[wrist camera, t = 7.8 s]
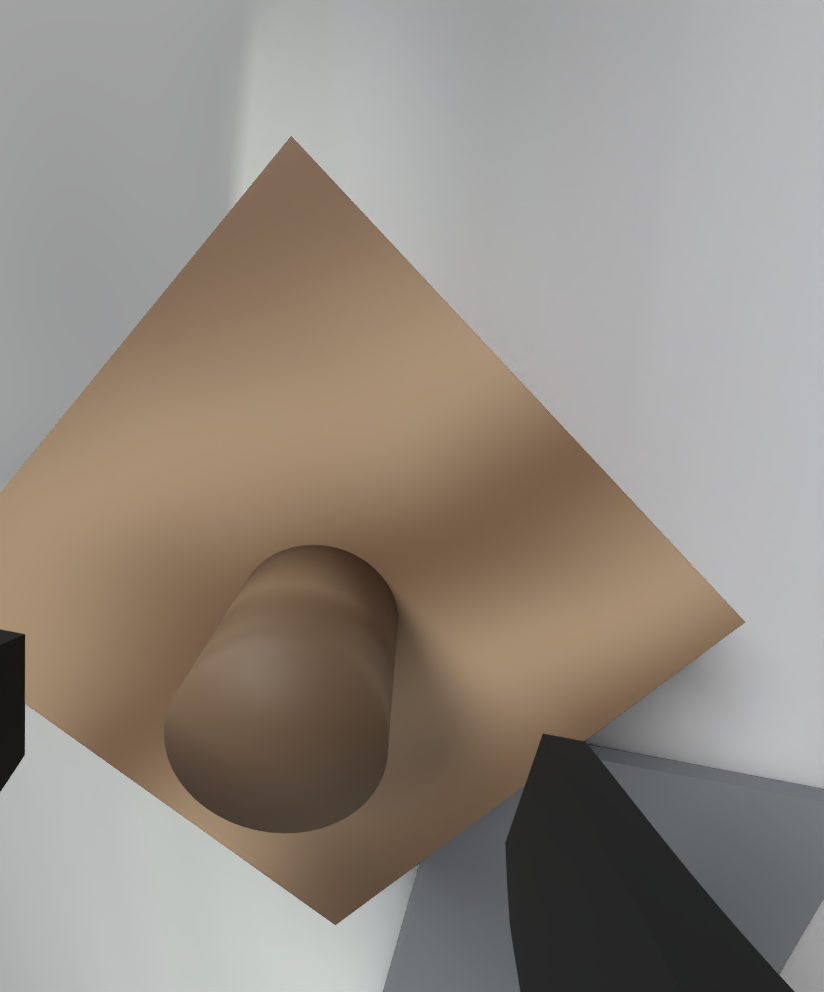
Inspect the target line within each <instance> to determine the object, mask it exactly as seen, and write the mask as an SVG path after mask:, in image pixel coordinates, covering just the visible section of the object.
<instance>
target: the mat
mask: <svg viewBox="0 0 824 992" xmlns="http://www.w3.org/2000/svg"><path fill="white" fill-rule="evenodd" d="M588 746H589V747H590V748H591V749H592V750H593V752H594V753H595V754H596V755H597V756H598V758H599V759H600V760H601V761H602V763H603V764H604V765H605V766H606V768H607V769H608V770H609V771H610V773H611V774H612V775H613V776H614V778H615V779H616V780H617V781H618V783H619V784H620V785H621V786H622V788H623V789H624V790H625V792H626V793H627V794H628V795H629V797H630V798H631V799H632V800H633V802H634V803H635V804H636V806H637V807H638V808H639V809H640V811H641V812H642V813H643V814H644V816H645V817H646V818H647V819H648V821H649V822H650V823H651V824H652V826H653V827H654V828H655V830H656V831H657V832H658V833H659V834H660V836H661V837H662V838H663V839H664V841H665V842H666V843H667V844H668V846H669V847H670V848H671V849H672V851H673V852H674V853H675V854H676V856H677V857H678V858H679V859H680V860H681V862H682V863H683V864H684V865H685V867H686V868H687V869H688V870H689V871H690V873H691V874H692V875H693V876H694V878H695V879H696V880H697V881H698V882H699V884H700V885H701V886H702V887H703V888H704V890H705V891H706V892H707V893H708V894H709V895H710V897H711V898H712V899H713V900H714V901H715V903H716V904H717V905H718V906H719V907H720V908H721V910H722V911H723V912H724V913H725V914H726V915H727V917H728V918H729V919H730V920H731V921H732V922H733V924H734V925H735V926H736V927H737V928H738V929H739V930H740V932H741V933H742V934H743V935H744V936H745V937H746V938H747V939H748V941H749V942H750V943H751V944H752V945H753V946H754V947H755V948H756V950H757V951H758V952H759V953H760V954H761V955H762V956H763V957H764V959H765V960H766V961H767V962H768V963H769V964H770V965H771V966H772V967H773V969H774V970H775V971H776V972H777V973H778V974H780V972H781V970H782V969H783V967H784V965H785V963H786V962H787V960H788V958H789V957H790V955H791V953H792V952H793V950H794V948H795V946H796V945H797V943H798V941H799V940H800V938H801V936H802V935H803V933H804V931H805V929H806V928H807V926H808V924H809V923H810V921H811V919H812V918H813V916H814V914H815V912H816V911H817V909H818V907H819V906H820V904H821V902H822V900H823V899H824V789H821V788H815V787H810V786H805V785H799V784H794V783H789V782H784V781H778V780H773V779H768V778H762V777H757V776H752V775H747V774H741V773H736V772H731V771H725V770H720V769H715V768H709V767H704V766H699V765H694V764H688V763H683V762H678V761H672V760H667V759H662V758H656V757H651V756H646V755H641V754H635V753H630V752H625V751H619V750H614V749H609V748H604V747H598V746H593V745H588ZM524 787H525V785H524V786H523V787H522V788H520V789H519V790H518V791H516V792H515V793H513V794H512V795H511V796H509V797H508V798H507V799H505V800H504V801H503V802H501V803H500V804H499V805H497V806H496V807H495V808H493V809H492V810H490V811H489V812H488V813H486V814H485V815H484V816H482V817H481V818H480V819H478V820H477V821H476V822H474V823H473V824H472V825H470V826H469V827H467V828H466V829H465V830H463V831H462V832H461V833H459V834H458V835H457V836H455V837H454V838H453V839H451V840H450V841H449V842H447V843H446V844H444V845H443V846H442V847H440V848H439V849H438V850H436V851H435V852H434V853H432V854H431V855H430V856H428V857H427V858H426V859H424V860H423V861H421V862H420V865H419V868H418V871H417V875H416V878H415V882H414V885H413V889H412V892H411V896H410V899H409V903H408V906H407V910H406V913H405V917H404V920H403V924H402V927H401V931H400V934H399V938H398V941H397V945H396V948H395V951H394V955H393V958H392V962H391V965H390V969H389V972H388V976H387V979H386V983H385V986H384V990H383V992H520V987H519V981H518V974H517V968H516V962H515V956H514V949H513V943H512V936H511V930H510V922H509V907H508V891H507V872H506V850H505V842H506V839H507V836H508V833H509V830H510V827H511V824H512V822H513V819H514V816H515V813H516V810H517V807H518V804H519V801H520V798H521V795H522V792H523V790H524Z"/></svg>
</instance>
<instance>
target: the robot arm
mask: <svg viewBox="0 0 824 992" xmlns="http://www.w3.org/2000/svg"><path fill="white" fill-rule="evenodd" d="M24 755H25V634H22V633H17V632H12V631H6V630H1V629H0V791H1V790H2V788H3V787H4V785H5V784H6V782H7V781H8V779H9V778H10V776H11V775H12V773H13V772H14V770H15V769H16V767H17V766H18V764H19V763H20V761H21V760H22V758H23V757H24ZM505 850H506V872H507V891H508V907H509V922H510V930H511V936H512V943H513V949H514V956H515V962H516V968H517V974H518V981H519V987H520V992H794V991H793V990H792V989H791V988H790V986H789V985H788V984H787V983H786V982H785V981H784V980H783V979H782V978H781V976H780V975H779V974H778V973H777V972H776V971H775V970H774V969H773V967H772V966H771V965H770V964H769V963H768V962H767V961H766V960H765V959H764V957H763V956H762V955H761V954H760V953H759V952H758V951H757V950H756V948H755V947H754V946H753V945H752V944H751V943H750V942H749V941H748V939H747V938H746V937H745V936H744V935H743V934H742V933H741V932H740V930H739V929H738V928H737V927H736V926H735V925H734V924H733V922H732V921H731V920H730V919H729V918H728V917H727V915H726V914H725V913H724V912H723V911H722V910H721V908H720V907H719V906H718V905H717V904H716V903H715V901H714V900H713V899H712V898H711V897H710V895H709V894H708V893H707V892H706V891H705V890H704V888H703V887H702V886H701V885H700V884H699V882H698V881H697V880H696V879H695V878H694V876H693V875H692V874H691V873H690V871H689V870H688V869H687V868H686V867H685V865H684V864H683V863H682V862H681V860H680V859H679V858H678V857H677V856H676V854H675V853H674V852H673V851H672V849H671V848H670V847H669V846H668V844H667V843H666V842H665V841H664V839H663V838H662V837H661V836H660V834H659V833H658V832H657V831H656V830H655V828H654V827H653V826H652V824H651V823H650V822H649V821H648V819H647V818H646V817H645V816H644V814H643V813H642V812H641V811H640V809H639V808H638V807H637V806H636V804H635V803H634V802H633V800H632V799H631V798H630V797H629V795H628V794H627V793H626V792H625V790H624V789H623V788H622V786H621V785H620V784H619V783H618V781H617V780H616V779H615V778H614V776H613V775H612V774H611V773H610V771H609V770H608V769H607V768H606V766H605V765H604V764H603V763H602V761H601V760H600V759H599V758H598V756H597V755H596V754H595V753H594V752H593V750H592V749H591V748H590V747H589V746H588V744H587V743H586V742H585V741H580V740H575V739H570V738H565V737H559V736H554V735H549V734H544V733H543V734H542V737H541V740H540V743H539V746H538V749H537V752H536V755H535V758H534V760H533V763H532V766H531V769H530V772H529V775H528V778H527V781H526V784H525V787H524V790H523V792H522V795H521V798H520V801H519V804H518V807H517V810H516V813H515V816H514V819H513V822H512V824H511V827H510V830H509V833H508V836H507V839H506V842H505Z"/></svg>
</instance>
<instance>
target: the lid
mask: <svg viewBox="0 0 824 992" xmlns="http://www.w3.org/2000/svg"><path fill="white" fill-rule="evenodd" d="M744 623H745V621H744V620H743V619H742V618H741V617H740V616H739V615H738V614H737V613H736V612H735V611H734V609H733V608H732V607H731V606H730V605H729V604H728V603H727V602H726V601H725V600H724V599H723V598H722V597H721V596H720V594H719V593H718V592H717V591H716V590H715V589H714V588H713V587H712V586H711V585H710V584H709V583H708V582H707V581H706V579H705V578H704V577H703V576H702V575H701V574H700V573H699V572H698V571H697V570H696V569H695V568H694V567H693V566H692V565H691V563H690V562H689V561H688V560H687V559H686V558H685V557H684V556H683V555H682V554H681V553H680V552H679V551H678V550H677V548H676V547H675V546H674V545H673V544H672V543H671V542H670V541H669V540H668V539H667V538H666V537H665V536H664V535H663V533H662V532H661V531H660V530H659V529H658V528H657V527H656V526H655V525H654V524H653V523H652V522H651V521H650V520H649V518H648V517H647V516H646V515H645V514H644V513H643V512H642V511H641V510H640V509H639V508H638V507H637V506H636V505H635V503H634V502H633V501H632V500H631V499H630V498H629V497H628V496H627V495H626V494H625V493H624V492H623V491H622V490H621V489H620V487H619V486H618V485H617V484H616V483H615V482H614V481H613V480H612V479H611V478H610V477H609V476H608V475H607V474H606V472H605V471H604V470H603V469H602V468H601V467H600V466H599V465H598V464H597V463H596V462H595V461H594V460H593V459H592V457H591V456H590V455H589V454H588V453H587V452H586V451H585V450H584V449H583V448H582V447H581V446H580V445H579V444H578V442H577V441H576V440H575V439H574V438H573V437H572V436H571V435H570V434H569V433H568V432H567V431H566V430H565V429H564V427H563V426H562V425H561V424H560V423H559V422H558V421H557V420H556V419H555V418H554V417H553V416H552V415H551V414H550V413H549V411H548V410H547V409H546V408H545V407H544V406H543V405H542V404H541V403H540V402H539V401H538V400H537V399H536V398H535V396H534V395H533V394H532V393H531V392H530V391H529V390H528V389H527V388H526V387H525V386H524V385H523V384H522V383H521V381H520V380H519V379H518V378H517V377H516V376H515V375H514V374H513V373H512V372H511V371H510V370H509V369H508V368H507V366H506V365H505V364H504V363H503V362H502V361H501V360H500V359H499V358H498V357H497V356H496V355H495V354H494V353H493V351H492V350H491V349H490V348H489V347H488V346H487V345H486V344H485V343H484V342H483V341H482V340H481V339H480V338H479V336H478V335H477V334H476V333H475V332H474V331H473V330H472V329H471V328H470V327H469V326H468V325H467V324H466V323H465V322H464V320H463V319H462V318H461V317H460V316H459V315H458V314H457V313H456V312H455V311H454V310H453V309H452V308H451V307H450V305H449V304H448V303H447V302H446V301H445V300H444V299H443V298H442V297H441V296H440V295H439V294H438V293H437V292H436V290H435V289H434V288H433V287H432V286H431V285H430V284H429V283H428V282H427V281H426V280H425V279H424V278H423V277H422V275H421V274H420V273H419V272H418V271H417V270H416V269H415V268H414V267H413V266H412V265H411V264H410V263H409V262H408V260H407V259H406V258H405V257H404V256H403V255H402V254H401V253H400V252H399V251H398V250H397V249H396V248H395V247H394V246H393V244H392V243H391V242H390V241H389V240H388V239H387V238H386V237H385V236H384V235H383V234H382V233H381V232H380V231H379V229H378V228H377V227H376V226H375V225H374V224H373V223H372V222H371V221H370V220H369V219H368V218H367V217H366V216H365V214H364V213H363V212H362V211H361V210H360V209H359V208H358V207H357V206H356V205H355V204H354V203H353V202H352V201H351V199H350V198H349V197H348V196H347V195H346V194H345V193H344V192H343V191H342V190H341V189H340V188H339V187H338V186H337V184H336V183H335V182H334V181H333V180H332V179H331V178H330V177H329V176H328V175H327V174H326V173H325V172H324V171H323V170H322V168H321V167H320V166H319V165H318V164H317V163H316V162H315V161H314V160H313V159H312V158H311V157H310V156H309V155H308V153H307V152H306V151H305V150H304V149H303V148H302V147H301V146H300V145H299V144H298V143H297V142H296V141H295V140H294V138H293V137H292V136H291V137H290V138H289V139H288V141H287V142H286V143H285V144H284V146H283V147H282V148H281V149H280V151H279V152H278V153H277V154H276V155H275V157H274V158H273V159H272V160H271V162H270V163H269V164H268V165H267V166H266V168H265V169H264V170H263V171H262V173H261V174H260V175H259V176H258V177H257V179H256V180H255V181H254V182H253V184H252V185H251V186H250V187H249V189H248V190H247V191H246V192H245V193H244V195H243V196H242V197H241V198H240V200H239V201H238V202H237V203H236V204H235V206H234V207H233V208H232V209H231V211H230V212H229V213H228V214H227V216H226V217H225V218H224V219H223V221H222V222H221V223H220V224H219V225H218V227H217V228H216V229H215V230H214V231H213V233H212V234H211V235H210V236H209V238H208V239H207V240H206V241H205V243H204V244H203V245H202V246H201V248H200V249H199V250H198V251H197V252H196V254H195V255H194V256H193V257H192V258H191V260H190V261H189V262H188V264H187V265H186V266H185V267H184V268H183V270H182V271H181V272H180V273H179V275H178V276H177V277H176V278H175V279H174V281H173V282H172V283H171V284H170V285H169V287H168V288H167V289H166V290H165V292H164V293H163V294H162V295H161V296H160V298H159V299H158V300H157V302H156V303H155V304H154V305H153V306H152V308H151V309H150V310H149V311H148V313H147V314H146V315H145V316H144V317H143V319H142V320H141V321H140V322H139V324H138V325H137V326H136V327H135V328H134V330H133V331H132V332H131V333H130V335H129V336H128V337H127V338H126V340H125V341H124V342H123V343H122V345H121V346H120V347H119V348H118V349H117V350H116V352H115V353H114V354H113V355H112V357H111V358H110V359H109V361H108V362H107V363H106V364H105V365H104V366H103V368H102V369H101V370H100V371H99V373H98V374H97V375H96V376H95V377H94V379H93V380H92V381H91V382H90V384H89V385H88V386H87V387H86V389H85V390H84V391H83V392H82V393H81V395H80V396H79V397H78V398H77V400H76V401H75V402H74V403H73V405H72V406H71V407H70V408H69V409H68V411H67V412H66V413H65V414H64V415H63V417H62V418H61V419H60V420H59V422H58V423H57V424H56V425H55V427H54V428H53V429H52V430H51V431H50V433H49V434H48V435H47V436H46V438H45V439H44V440H43V441H42V442H41V444H40V445H39V446H38V447H37V449H36V450H35V451H34V452H33V454H32V455H31V456H30V457H29V458H28V460H27V461H26V462H25V464H24V465H23V466H22V467H21V468H20V470H19V471H18V472H17V473H16V475H15V476H14V477H13V478H12V479H11V481H10V482H9V483H8V484H7V485H6V487H5V488H4V489H3V490H2V492H1V493H0V629H1V630H6V631H12V632H17V633H22V634H25V704H26V705H28V706H29V707H30V708H32V709H33V710H35V711H36V712H37V713H39V714H40V715H42V716H43V717H44V718H46V719H47V720H49V721H50V722H51V723H53V724H54V725H56V726H57V727H58V728H60V729H61V730H63V731H64V732H65V733H67V734H68V735H70V736H71V737H72V738H74V739H75V740H77V741H78V742H79V743H81V744H82V745H84V746H85V747H86V748H88V749H89V750H91V751H92V752H93V753H95V754H96V755H98V756H99V757H100V758H102V759H103V760H105V761H106V762H107V763H109V764H110V765H112V766H113V767H114V768H116V769H117V770H119V771H120V772H121V773H123V774H124V775H126V776H127V777H129V778H130V779H131V780H133V781H134V782H136V783H137V784H138V785H140V786H141V787H143V788H144V789H145V790H147V791H148V792H150V793H151V794H152V795H154V796H155V797H157V798H158V799H159V800H161V801H162V802H164V803H165V804H166V805H168V806H169V807H171V808H172V809H173V810H175V811H176V812H178V813H179V814H180V815H182V816H183V817H185V818H186V819H187V820H189V821H190V822H192V823H193V824H194V825H196V826H197V827H199V828H200V829H201V830H203V831H204V832H206V833H207V834H208V835H210V836H211V837H213V838H214V839H215V840H217V841H218V842H220V843H221V844H222V845H224V846H225V847H227V848H228V849H229V850H231V851H232V852H234V853H235V854H236V855H238V856H239V857H241V858H242V859H243V860H245V861H246V862H248V863H249V864H250V865H252V866H253V867H255V868H256V869H257V870H259V871H260V872H262V873H263V874H264V875H266V876H267V877H269V878H270V879H271V880H273V881H274V882H276V883H277V884H278V885H280V886H281V887H283V888H284V889H285V890H287V891H288V892H290V893H291V894H293V895H294V896H295V897H297V898H298V899H300V900H301V901H302V902H304V903H305V904H307V905H308V906H309V907H311V908H312V909H314V910H315V911H316V912H318V913H319V914H321V915H322V916H323V917H325V918H326V919H328V920H329V921H330V922H332V923H333V924H335V925H336V924H338V923H339V922H340V921H342V920H343V919H344V918H346V917H347V916H348V915H350V914H351V913H352V912H354V911H355V910H357V909H358V908H359V907H361V906H362V905H363V904H365V903H366V902H367V901H369V900H370V899H371V898H373V897H374V896H375V895H377V894H378V893H380V892H381V891H382V890H384V889H385V888H386V887H388V886H389V885H390V884H392V883H393V882H394V881H396V880H397V879H398V878H400V877H401V876H403V875H404V874H405V873H407V872H408V871H409V870H411V869H412V868H413V867H415V866H416V865H417V864H419V863H420V862H421V861H423V860H424V859H426V858H427V857H428V856H430V855H431V854H432V853H434V852H435V851H436V850H438V849H439V848H440V847H442V846H443V845H444V844H446V843H447V842H449V841H450V840H451V839H453V838H454V837H455V836H457V835H458V834H459V833H461V832H462V831H463V830H465V829H466V828H467V827H469V826H470V825H472V824H473V823H474V822H476V821H477V820H478V819H480V818H481V817H482V816H484V815H485V814H486V813H488V812H489V811H490V810H492V809H493V808H495V807H496V806H497V805H499V804H500V803H501V802H503V801H504V800H505V799H507V798H508V797H509V796H511V795H512V794H513V793H515V792H516V791H518V790H519V789H520V788H522V787H523V786H524V785H525V784H526V781H527V778H528V775H529V772H530V769H531V766H532V763H533V760H534V758H535V755H536V752H537V749H538V746H539V743H540V740H541V737H542V734H543V733H544V734H549V735H554V736H559V737H565V738H570V739H575V740H580V741H585V740H587V739H588V738H589V737H591V736H592V735H593V734H595V733H596V732H597V731H599V730H600V729H601V728H603V727H604V726H605V725H607V724H608V723H610V722H611V721H612V720H614V719H615V718H616V717H618V716H619V715H620V714H622V713H623V712H624V711H626V710H627V709H629V708H630V707H631V706H633V705H634V704H635V703H637V702H638V701H639V700H641V699H642V698H643V697H645V696H646V695H647V694H649V693H650V692H652V691H653V690H654V689H656V688H657V687H658V686H660V685H661V684H662V683H664V682H665V681H666V680H668V679H669V678H670V677H672V676H673V675H675V674H676V673H677V672H679V671H680V670H681V669H683V668H684V667H685V666H687V665H688V664H689V663H691V662H692V661H693V660H695V659H696V658H698V657H699V656H700V655H702V654H703V653H704V652H706V651H707V650H708V649H710V648H711V647H712V646H714V645H715V644H716V643H718V642H719V641H721V640H722V639H723V638H725V637H726V636H727V635H729V634H730V633H731V632H733V631H734V630H735V629H737V628H738V627H739V626H741V625H742V624H744Z"/></svg>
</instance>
